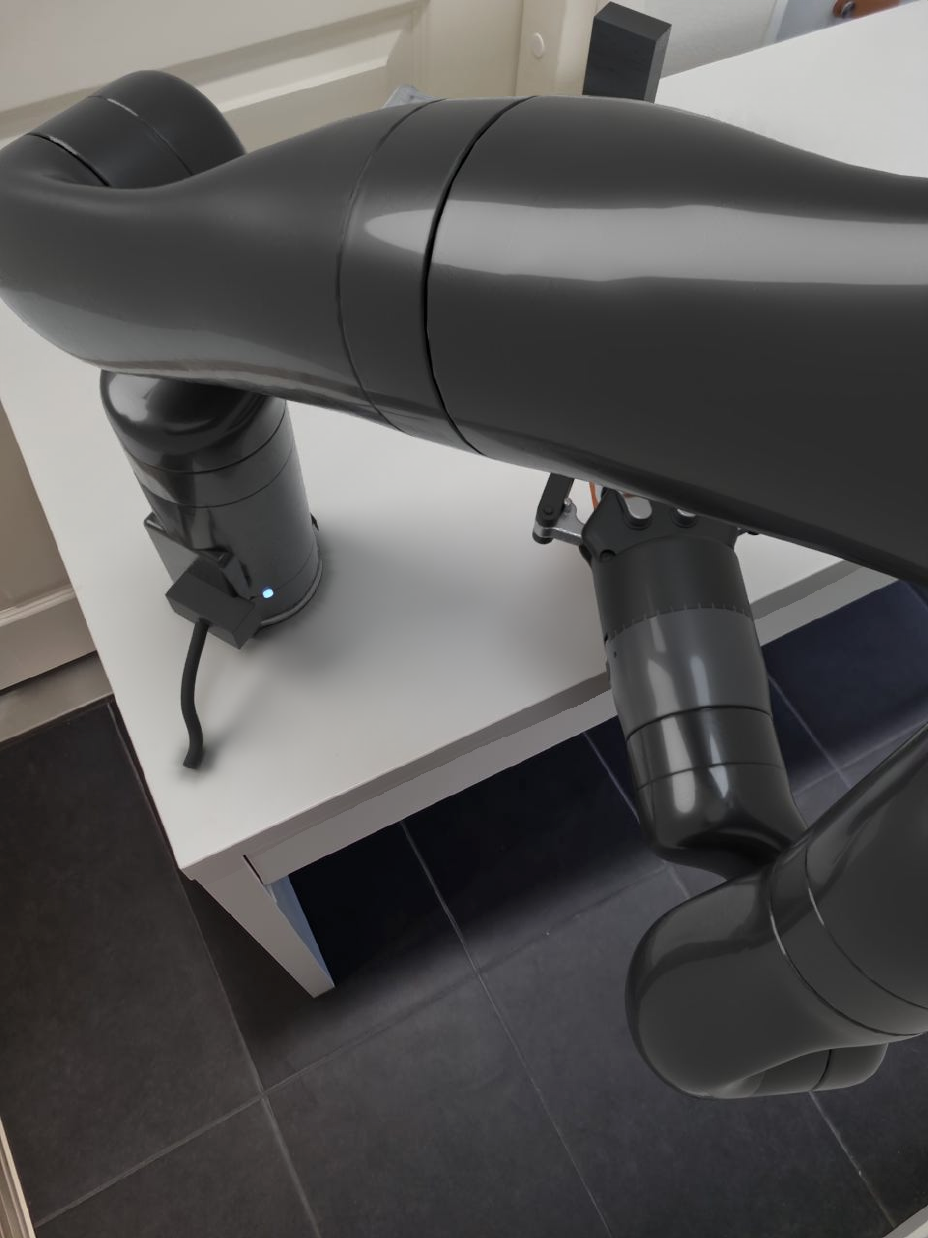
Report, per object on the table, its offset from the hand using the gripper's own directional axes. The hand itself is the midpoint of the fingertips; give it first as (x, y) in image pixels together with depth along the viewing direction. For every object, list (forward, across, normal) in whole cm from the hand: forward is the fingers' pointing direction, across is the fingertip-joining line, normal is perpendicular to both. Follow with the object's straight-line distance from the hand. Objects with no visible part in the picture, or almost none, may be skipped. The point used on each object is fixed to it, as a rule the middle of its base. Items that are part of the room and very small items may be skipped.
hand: (626, 388), depth 53 cm
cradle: (+40, -11, +15) cm, 44 cm away
